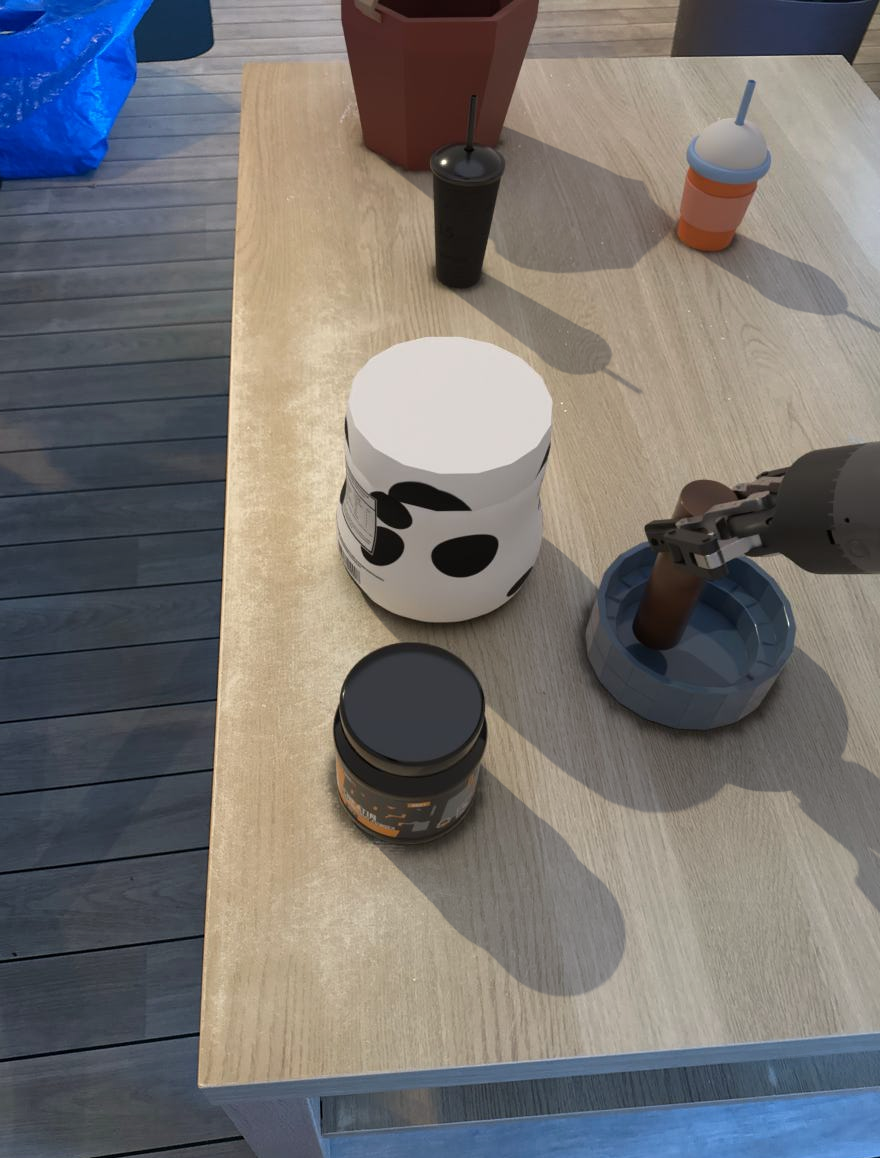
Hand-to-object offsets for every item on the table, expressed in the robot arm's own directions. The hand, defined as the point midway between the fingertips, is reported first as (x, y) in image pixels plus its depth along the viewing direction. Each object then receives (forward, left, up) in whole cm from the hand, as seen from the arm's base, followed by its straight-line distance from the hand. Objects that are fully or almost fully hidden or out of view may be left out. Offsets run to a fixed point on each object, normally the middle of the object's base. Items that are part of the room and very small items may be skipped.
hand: (674, 522), depth 71 cm
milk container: (+16, -7, -14) cm, 23 cm away
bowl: (-4, +2, -14) cm, 15 cm away
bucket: (+17, -77, -14) cm, 81 cm away
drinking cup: (+14, -48, -14) cm, 52 cm away
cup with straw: (-15, -58, -14) cm, 62 cm away
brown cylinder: (-1, +2, -11) cm, 11 cm away
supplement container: (+18, +15, -14) cm, 28 cm away
